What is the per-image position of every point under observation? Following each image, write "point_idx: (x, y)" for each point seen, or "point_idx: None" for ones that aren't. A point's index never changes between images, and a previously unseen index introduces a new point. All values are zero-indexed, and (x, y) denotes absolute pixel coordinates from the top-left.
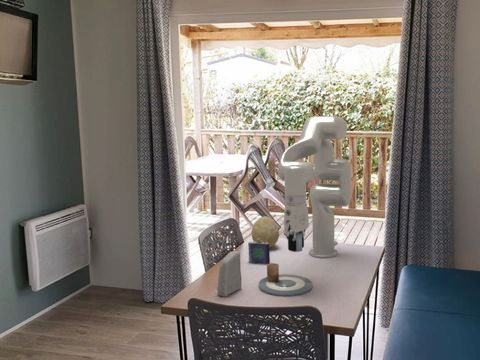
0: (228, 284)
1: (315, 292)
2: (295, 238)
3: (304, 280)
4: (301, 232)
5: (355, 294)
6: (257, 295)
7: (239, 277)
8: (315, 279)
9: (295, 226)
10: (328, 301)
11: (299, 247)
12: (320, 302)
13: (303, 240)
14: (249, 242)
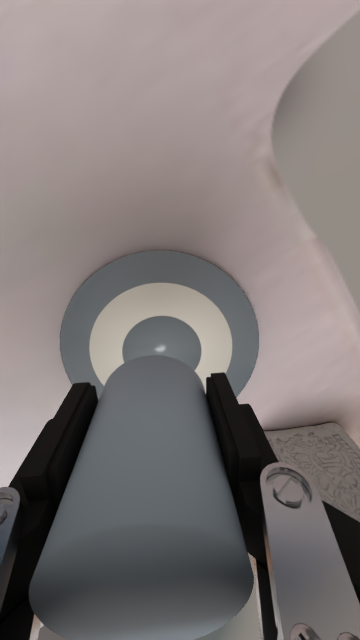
0: (345, 449)
1: (144, 222)
2: (229, 498)
3: (89, 317)
4: (2, 597)
5: (39, 31)
6: (280, 367)
7: (285, 461)
8: (29, 303)
9: None
10: (195, 113)
11: (173, 379)
12: (224, 140)
13: (53, 435)
14: (40, 625)
